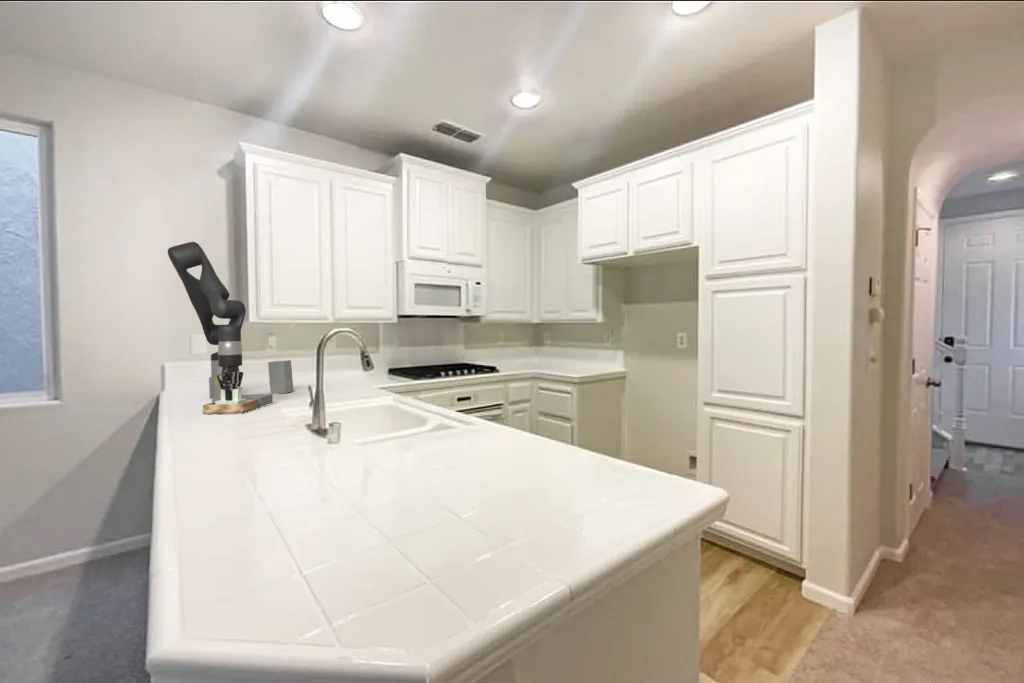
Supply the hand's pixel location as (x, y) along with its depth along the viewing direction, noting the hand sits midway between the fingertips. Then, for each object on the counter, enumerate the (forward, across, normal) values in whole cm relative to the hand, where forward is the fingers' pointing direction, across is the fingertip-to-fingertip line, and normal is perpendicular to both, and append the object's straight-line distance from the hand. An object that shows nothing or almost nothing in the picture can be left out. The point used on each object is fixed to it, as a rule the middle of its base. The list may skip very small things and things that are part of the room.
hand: (231, 399), depth 163 cm
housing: (+4, +12, +2) cm, 13 cm away
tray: (+4, 0, 0) cm, 4 cm away
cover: (+2, 0, 0) cm, 2 cm away
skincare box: (+5, +51, +4) cm, 51 cm away
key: (0, +14, +8) cm, 16 cm away
